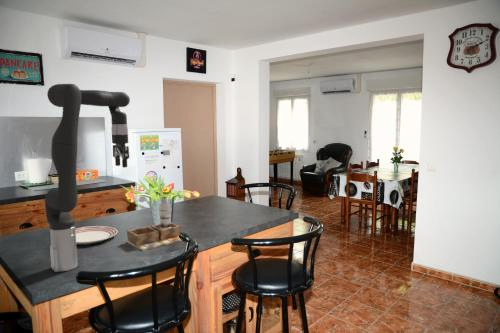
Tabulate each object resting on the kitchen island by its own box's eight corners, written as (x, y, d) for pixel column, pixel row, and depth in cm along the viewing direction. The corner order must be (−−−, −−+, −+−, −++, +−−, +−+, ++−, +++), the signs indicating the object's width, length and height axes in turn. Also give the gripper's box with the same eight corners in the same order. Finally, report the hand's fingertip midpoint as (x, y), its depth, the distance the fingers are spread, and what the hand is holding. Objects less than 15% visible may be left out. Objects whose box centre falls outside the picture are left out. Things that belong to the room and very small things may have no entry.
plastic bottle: (156, 235, 186) (155, 198, 184) (168, 232, 191) (166, 196, 188) (163, 238, 182) (162, 199, 179) (174, 235, 186) (173, 197, 184)
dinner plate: (117, 228, 202) (117, 223, 202) (118, 244, 177) (118, 237, 177) (63, 234, 193) (63, 228, 192) (56, 251, 167) (55, 244, 167)
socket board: (142, 251, 166) (141, 238, 165) (126, 241, 179) (125, 230, 179) (186, 239, 182) (186, 228, 181) (169, 231, 195) (168, 221, 195)
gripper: (106, 133, 177) (108, 165, 179) (118, 134, 167) (119, 168, 169) (121, 133, 182) (123, 164, 184) (133, 133, 172) (134, 167, 174)
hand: (121, 166), depth 176 cm, fingers open, 8 cm apart
